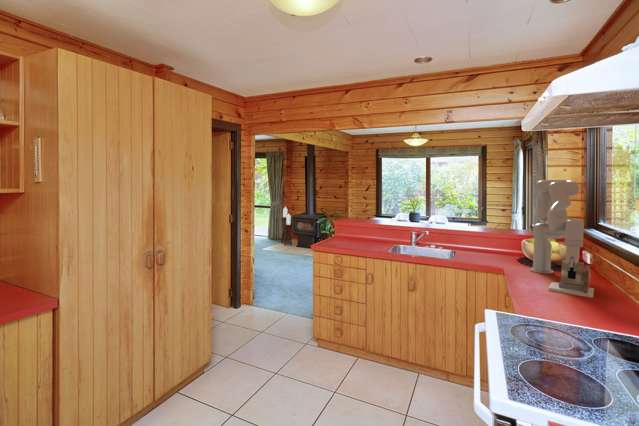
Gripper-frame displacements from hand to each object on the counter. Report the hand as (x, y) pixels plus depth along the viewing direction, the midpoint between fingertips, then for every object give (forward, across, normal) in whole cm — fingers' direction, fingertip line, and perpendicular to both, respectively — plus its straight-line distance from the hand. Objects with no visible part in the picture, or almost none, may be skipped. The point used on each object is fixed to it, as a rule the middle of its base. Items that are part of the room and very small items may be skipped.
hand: (571, 277), depth 171 cm
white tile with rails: (+7, 0, 0) cm, 7 cm away
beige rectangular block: (+3, 0, 0) cm, 3 cm away
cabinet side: (+6, 0, +5) cm, 8 cm away
